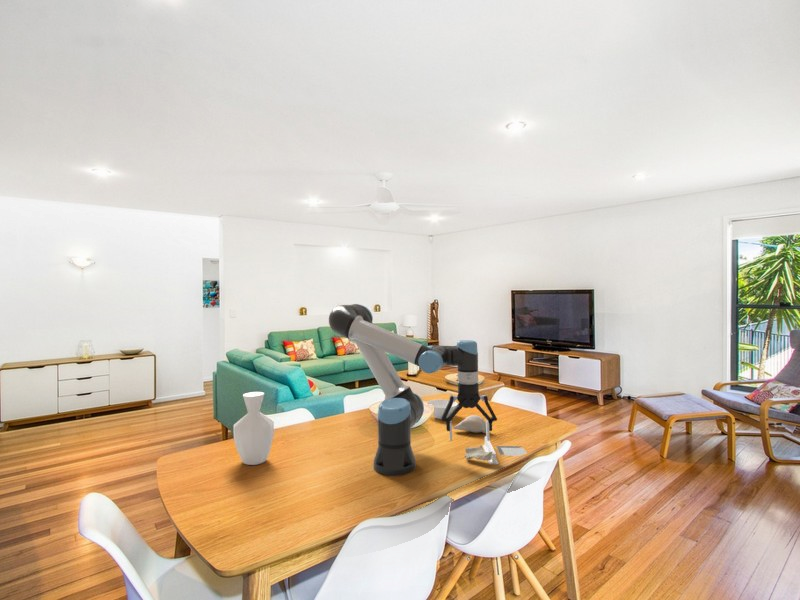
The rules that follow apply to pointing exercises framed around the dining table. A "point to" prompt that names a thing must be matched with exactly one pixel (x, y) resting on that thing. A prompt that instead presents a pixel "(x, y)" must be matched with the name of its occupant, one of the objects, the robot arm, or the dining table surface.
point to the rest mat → (511, 450)
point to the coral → (478, 453)
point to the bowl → (441, 407)
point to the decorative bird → (472, 424)
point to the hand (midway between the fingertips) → (469, 439)
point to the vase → (253, 431)
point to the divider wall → (489, 448)
